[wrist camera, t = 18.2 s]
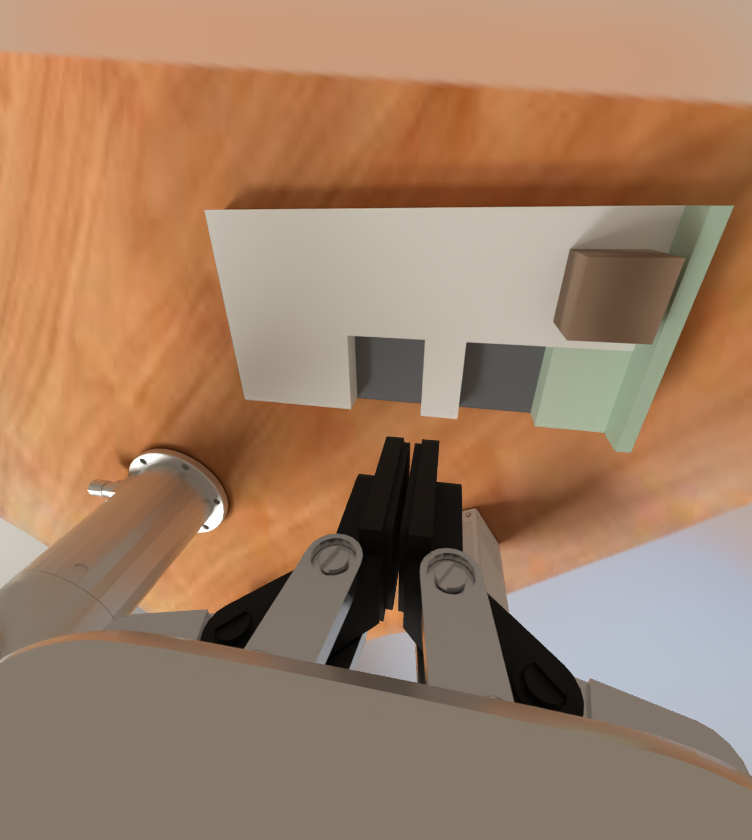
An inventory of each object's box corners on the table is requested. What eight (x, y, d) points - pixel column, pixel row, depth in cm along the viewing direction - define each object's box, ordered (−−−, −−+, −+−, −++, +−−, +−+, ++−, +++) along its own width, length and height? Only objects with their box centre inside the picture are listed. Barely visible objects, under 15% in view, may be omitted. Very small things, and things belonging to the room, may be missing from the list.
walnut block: (552, 321, 25) (566, 340, 22) (569, 248, 23) (588, 257, 19) (626, 324, 24) (652, 344, 21) (651, 249, 22) (685, 258, 18)
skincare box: (439, 516, 39) (430, 627, 29) (478, 504, 37) (483, 618, 27) (465, 554, 41) (465, 670, 31) (503, 545, 39) (517, 665, 29)
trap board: (257, 387, 36) (230, 412, 31) (223, 209, 28) (181, 210, 24) (607, 417, 30) (630, 452, 26) (683, 205, 22) (734, 205, 18)
